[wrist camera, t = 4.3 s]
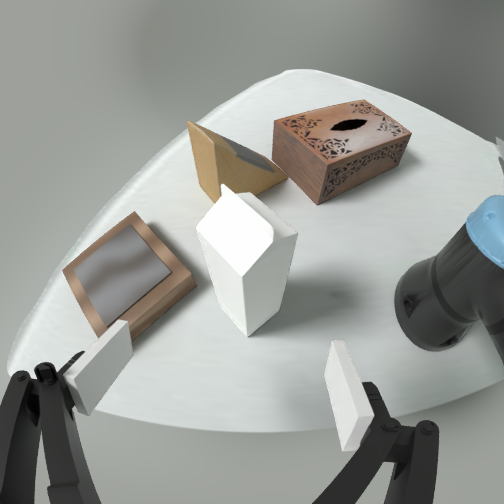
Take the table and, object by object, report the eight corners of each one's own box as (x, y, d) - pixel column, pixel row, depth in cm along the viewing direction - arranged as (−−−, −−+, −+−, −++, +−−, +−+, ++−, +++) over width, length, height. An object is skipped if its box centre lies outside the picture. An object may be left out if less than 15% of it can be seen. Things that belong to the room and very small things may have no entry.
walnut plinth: (196, 285, 40) (191, 272, 37) (117, 353, 35) (103, 347, 31) (141, 225, 46) (133, 209, 43) (74, 281, 40) (61, 269, 37)
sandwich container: (290, 178, 52) (299, 112, 39) (223, 214, 47) (213, 144, 35) (263, 155, 56) (265, 92, 43) (199, 186, 51) (186, 120, 38)
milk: (247, 337, 36) (239, 257, 17) (219, 306, 39) (186, 203, 20) (280, 309, 38) (305, 207, 19) (252, 280, 41) (249, 164, 22)
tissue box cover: (316, 206, 48) (327, 164, 40) (271, 160, 55) (274, 120, 46) (397, 166, 55) (412, 133, 47) (355, 132, 62) (363, 99, 53)
